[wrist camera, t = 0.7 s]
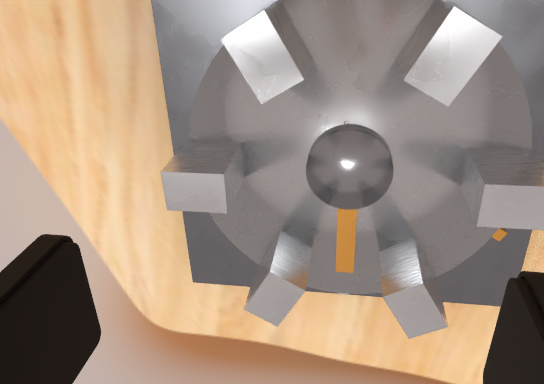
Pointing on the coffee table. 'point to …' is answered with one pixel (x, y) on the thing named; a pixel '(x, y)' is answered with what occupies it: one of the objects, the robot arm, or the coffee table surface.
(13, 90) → the coffee table surface
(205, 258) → the base plate
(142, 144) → the coffee table surface
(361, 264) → the gear wheel
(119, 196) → the coffee table surface
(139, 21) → the coffee table surface
